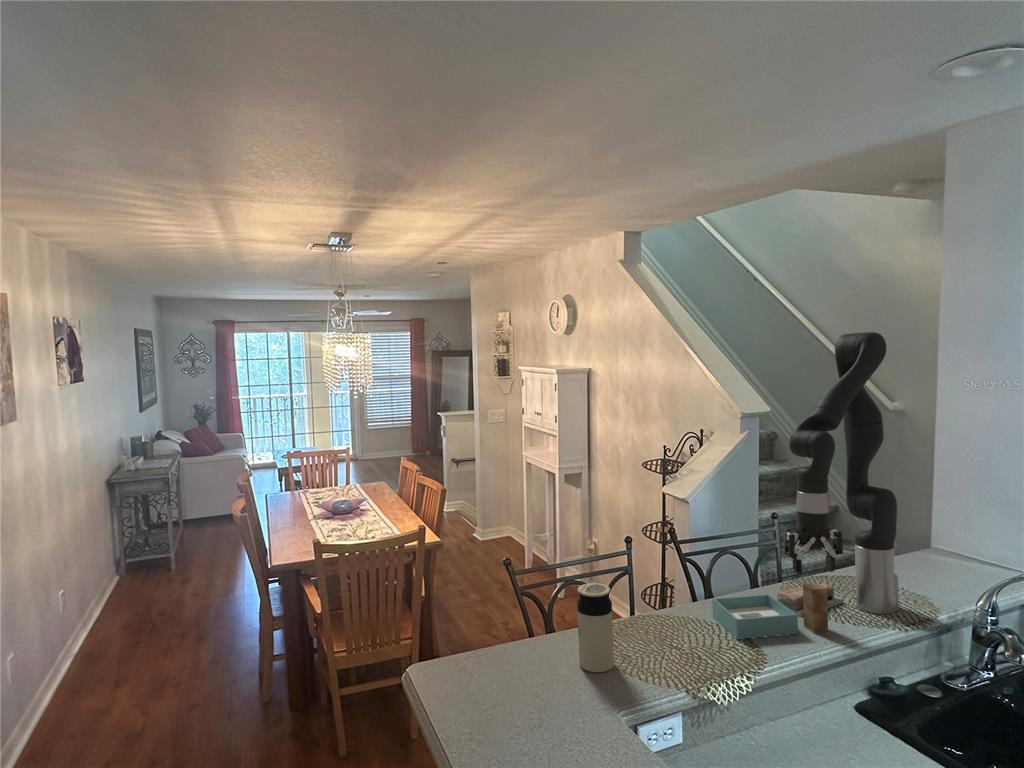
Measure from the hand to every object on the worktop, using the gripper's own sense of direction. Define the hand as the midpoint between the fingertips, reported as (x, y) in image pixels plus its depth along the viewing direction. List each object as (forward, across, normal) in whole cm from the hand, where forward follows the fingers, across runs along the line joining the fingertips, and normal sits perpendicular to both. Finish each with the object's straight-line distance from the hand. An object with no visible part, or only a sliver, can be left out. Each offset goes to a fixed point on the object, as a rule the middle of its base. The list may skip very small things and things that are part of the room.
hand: (814, 572), depth 155 cm
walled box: (+15, +14, -5) cm, 21 cm away
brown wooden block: (+15, 0, 0) cm, 15 cm away
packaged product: (+15, -7, -15) cm, 23 cm away
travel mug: (+16, +59, +8) cm, 61 cm away
